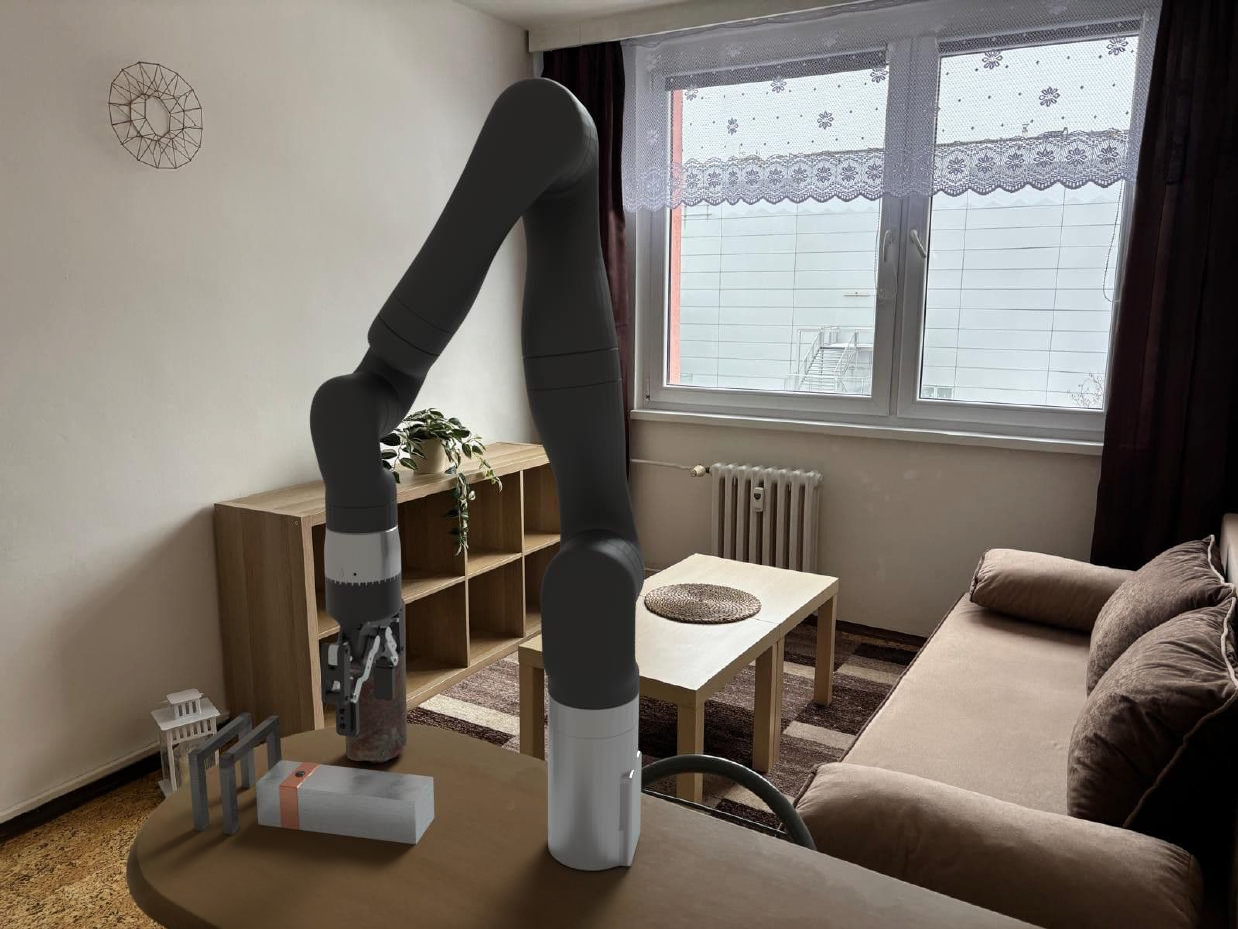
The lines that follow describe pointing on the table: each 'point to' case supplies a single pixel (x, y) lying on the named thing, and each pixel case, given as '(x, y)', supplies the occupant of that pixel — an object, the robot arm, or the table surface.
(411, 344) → the robot arm
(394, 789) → the brushed metal post
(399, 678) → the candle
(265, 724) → the collar
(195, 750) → the collar
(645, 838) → the table surface
